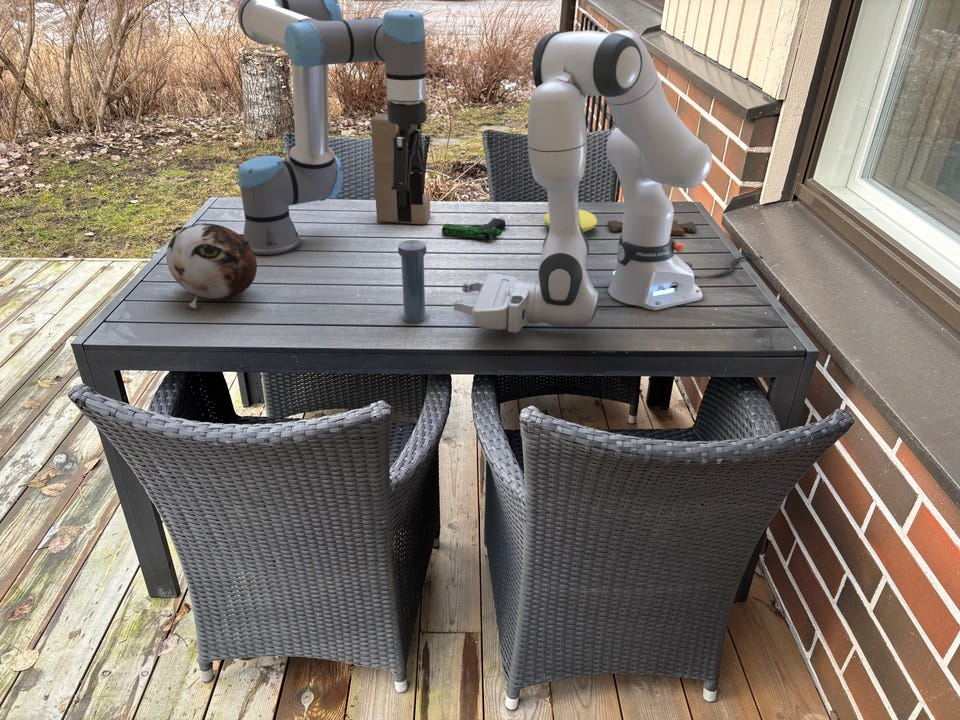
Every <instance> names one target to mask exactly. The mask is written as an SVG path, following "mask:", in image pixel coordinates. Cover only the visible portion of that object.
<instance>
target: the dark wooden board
mask: <svg viewBox="0 0 960 720" xmlns="http://www.w3.org/2000/svg"><path fill="white" fill-rule="evenodd" d="M607 224H608V229H609V231H610V232H613V233H615V232H616V233H617V232H622V228H623V221H622V222H621V221H619V220H615V219H614V220H608V221H607ZM682 228H683V229H682ZM688 229H689V230H688ZM693 230H696V231H697V228H696V224H695V223H694V222H691V221H690V222H683V223H682V222H681V223H679V221H678V220H674V219H673V222H672V229H671V235H685V233H686V232H687V233H696V231H693Z"/></svg>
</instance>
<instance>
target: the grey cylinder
mask: <svg viewBox="0 0 960 720" xmlns="http://www.w3.org/2000/svg"><path fill="white" fill-rule="evenodd" d="M400 262H401V287H402V306H403V319H404V321H406V322H408V323H420V322H423V321H424V320H425V319H426V287H425V285H426V283H425V255H424V256H422V257H418V258H405V257H402V256H400Z"/></svg>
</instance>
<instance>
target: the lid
mask: <svg viewBox="0 0 960 720" xmlns="http://www.w3.org/2000/svg"><path fill="white" fill-rule="evenodd" d="M397 247H398V248H397V254H398V255H399V256H400V257H401V256H402V257H405V258H418V257H422V256H424V257H425V255H426V254H427V244H426V243H425V242H424V241H422V240H418V239H417V240H416V239H410V240H409V239H408V240H404V241H401V242H399V243H398V246H397Z"/></svg>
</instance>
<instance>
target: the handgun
mask: <svg viewBox="0 0 960 720" xmlns="http://www.w3.org/2000/svg"><path fill="white" fill-rule="evenodd" d="M505 228H506V220H505V219H503V218H497V217H492V219H491V220H490V221H489V222H488V223H483V224H482V225H479V224H472V225H459V224H453V223H445V224H443V226H442V227H441V235H446V236H454V237H462V238H469V239H470V238H471V239H474V240H479V241H484V242H491V241H492V240H494V239H495V238H497V237H500V236H502V230H504V229H505Z"/></svg>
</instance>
